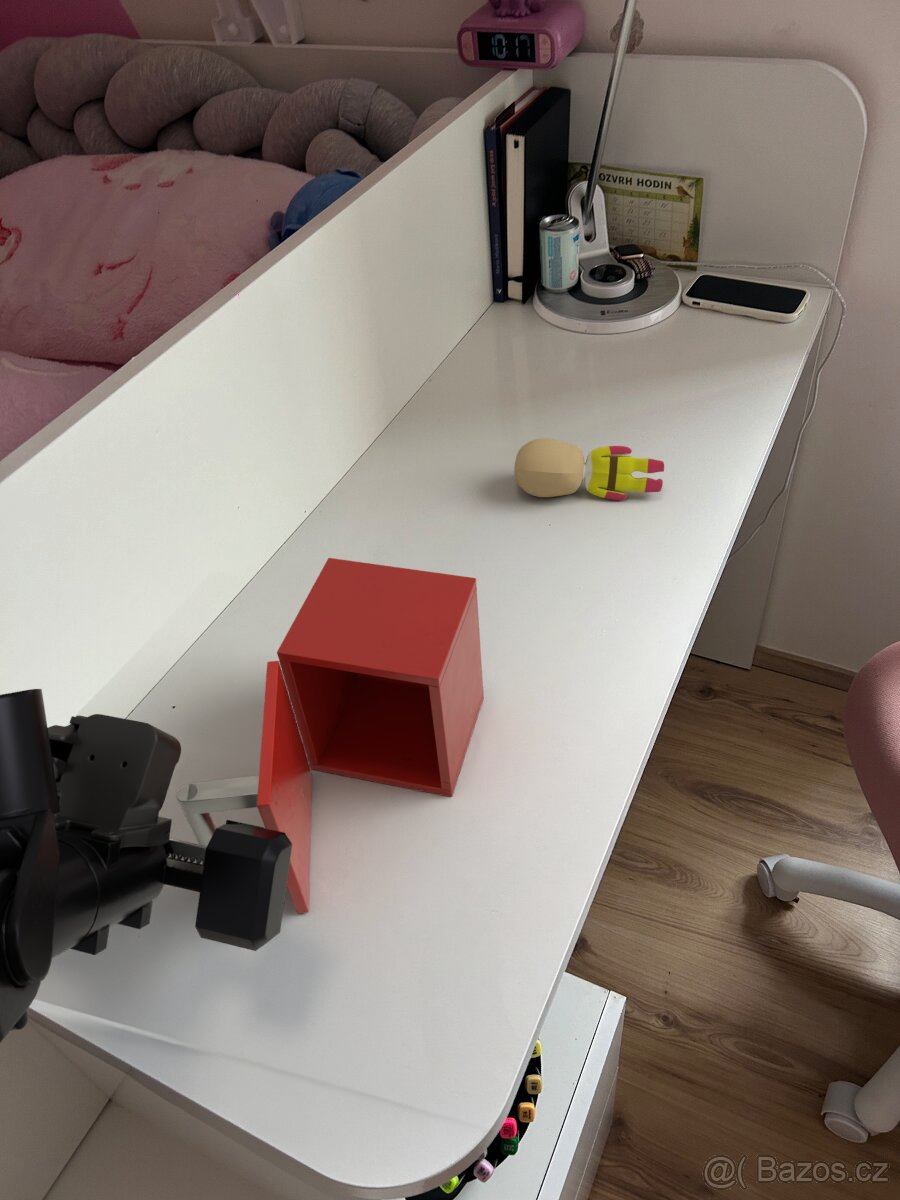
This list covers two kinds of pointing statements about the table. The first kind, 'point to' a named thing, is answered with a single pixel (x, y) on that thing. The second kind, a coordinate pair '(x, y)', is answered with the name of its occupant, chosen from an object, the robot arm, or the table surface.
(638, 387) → the table surface
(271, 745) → the red cabinet door
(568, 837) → the table surface
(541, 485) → the toy
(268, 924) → the robot arm
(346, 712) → the cabinet
